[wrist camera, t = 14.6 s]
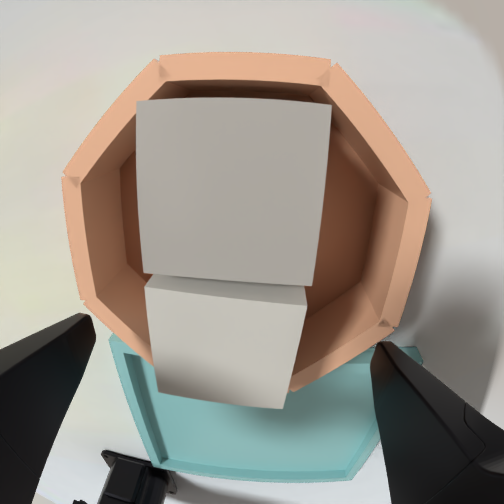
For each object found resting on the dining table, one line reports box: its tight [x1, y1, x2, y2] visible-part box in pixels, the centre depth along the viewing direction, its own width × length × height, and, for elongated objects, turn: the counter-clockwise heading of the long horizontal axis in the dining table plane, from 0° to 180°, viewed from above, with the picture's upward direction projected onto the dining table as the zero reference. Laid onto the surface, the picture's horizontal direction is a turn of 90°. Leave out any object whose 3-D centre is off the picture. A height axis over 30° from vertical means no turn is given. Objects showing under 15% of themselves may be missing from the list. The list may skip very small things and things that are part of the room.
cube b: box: [136, 98, 332, 286], centre depth 9 cm, size 4×4×5 cm
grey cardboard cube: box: [144, 274, 307, 409], centre depth 10 cm, size 4×4×5 cm
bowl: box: [61, 52, 432, 393], centre depth 11 cm, size 12×12×4 cm
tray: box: [109, 333, 423, 483], centre depth 17 cm, size 14×16×1 cm
